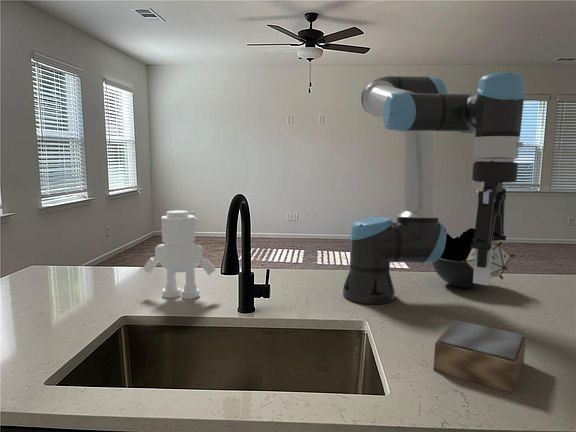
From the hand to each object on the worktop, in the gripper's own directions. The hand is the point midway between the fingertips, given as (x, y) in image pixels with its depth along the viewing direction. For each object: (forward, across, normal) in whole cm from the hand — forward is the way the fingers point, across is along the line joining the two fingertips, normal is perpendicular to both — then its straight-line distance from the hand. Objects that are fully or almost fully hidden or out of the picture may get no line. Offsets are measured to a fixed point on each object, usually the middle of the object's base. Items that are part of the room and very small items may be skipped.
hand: (486, 277), depth 82 cm
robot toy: (+18, -6, +81) cm, 83 cm away
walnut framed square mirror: (+18, 0, 0) cm, 18 cm away
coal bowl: (+18, +55, +16) cm, 60 cm away
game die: (0, 0, 0) cm, 0 cm away
